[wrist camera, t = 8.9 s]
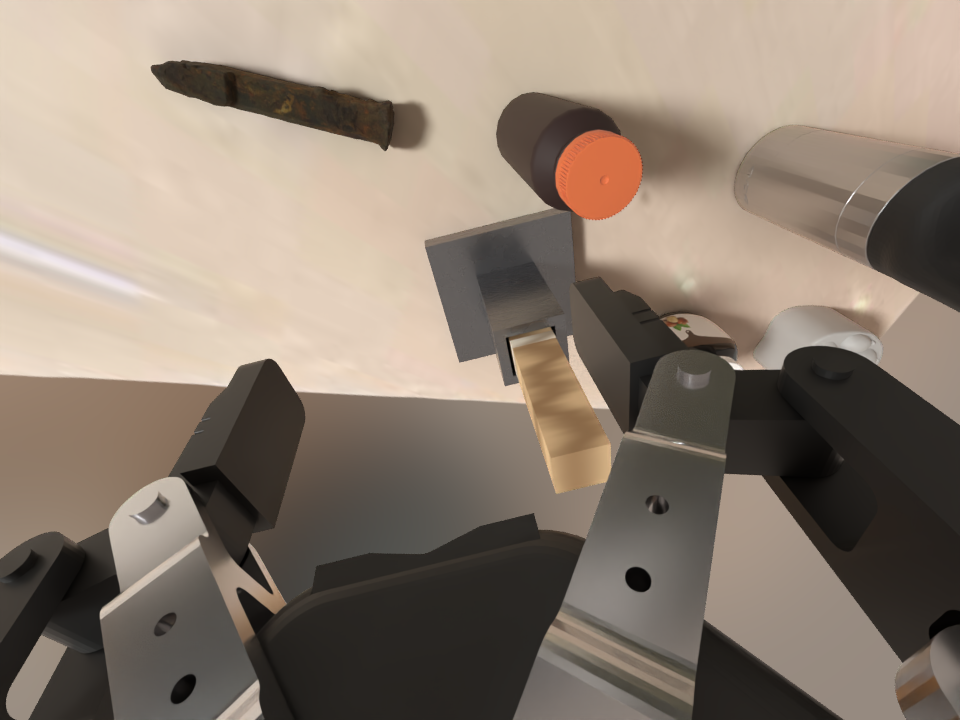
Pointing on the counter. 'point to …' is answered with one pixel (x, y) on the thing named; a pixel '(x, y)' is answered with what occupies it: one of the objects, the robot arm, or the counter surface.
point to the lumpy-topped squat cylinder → (814, 335)
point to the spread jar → (702, 335)
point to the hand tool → (280, 99)
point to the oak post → (560, 412)
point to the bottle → (569, 155)
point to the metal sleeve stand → (505, 283)
